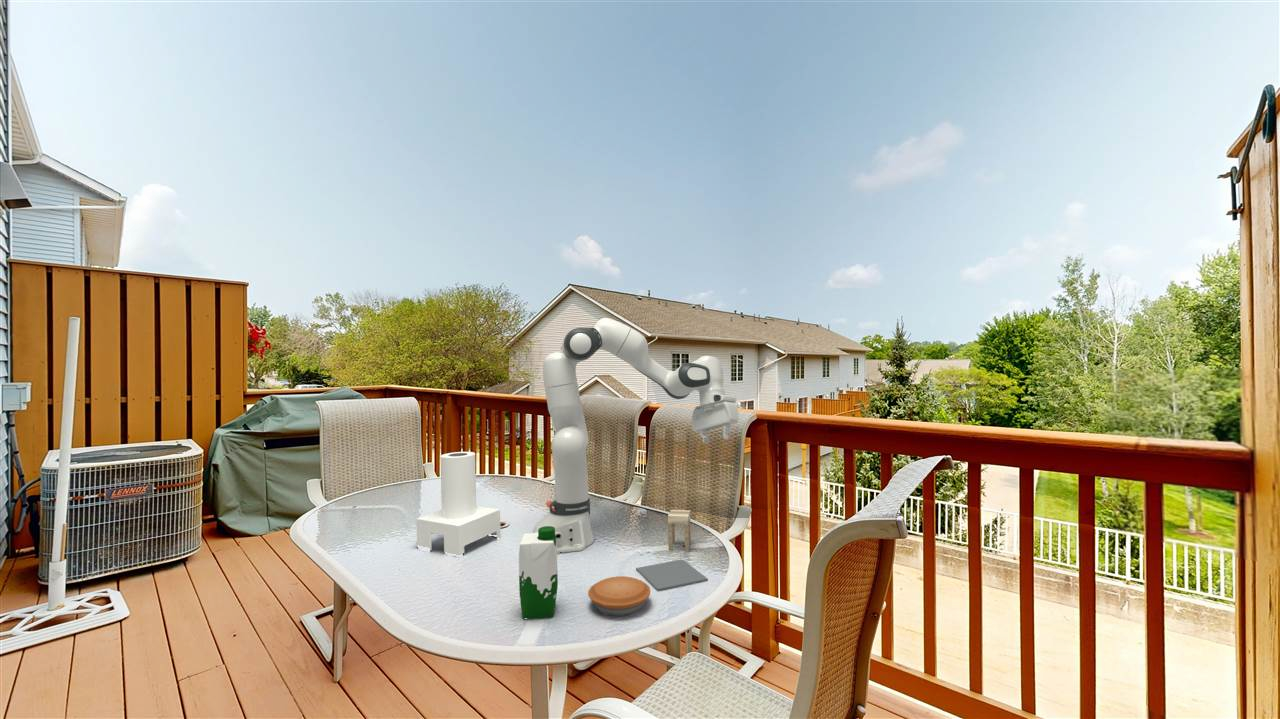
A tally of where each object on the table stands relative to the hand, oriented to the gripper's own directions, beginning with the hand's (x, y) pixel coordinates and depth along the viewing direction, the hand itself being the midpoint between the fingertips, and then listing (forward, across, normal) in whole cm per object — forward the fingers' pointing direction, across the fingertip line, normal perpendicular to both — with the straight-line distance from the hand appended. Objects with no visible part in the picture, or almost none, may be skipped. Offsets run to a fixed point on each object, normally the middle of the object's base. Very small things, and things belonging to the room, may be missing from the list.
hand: (715, 441), depth 174 cm
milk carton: (+46, +1, -64) cm, 78 cm away
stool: (+34, -9, -11) cm, 36 cm away
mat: (+40, +5, -26) cm, 48 cm away
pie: (+46, +10, -46) cm, 66 cm away
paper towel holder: (+31, -57, -67) cm, 93 cm away
